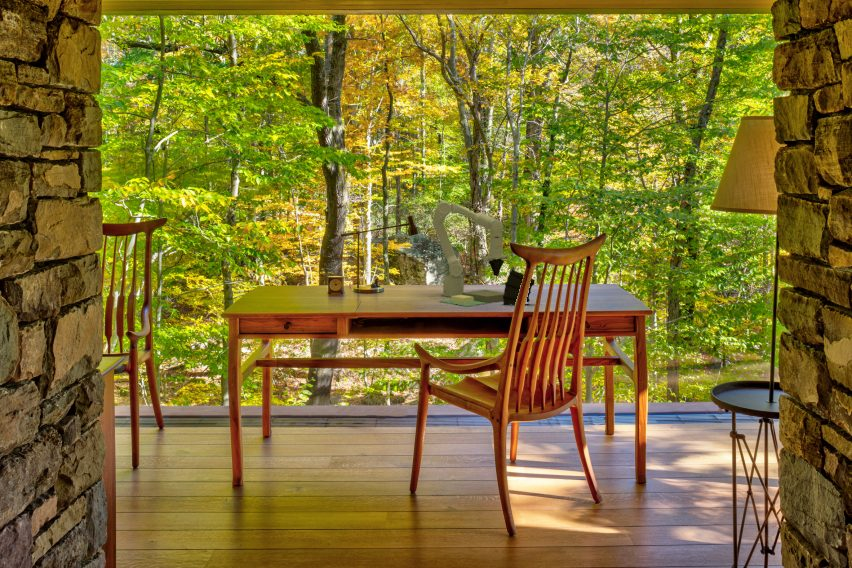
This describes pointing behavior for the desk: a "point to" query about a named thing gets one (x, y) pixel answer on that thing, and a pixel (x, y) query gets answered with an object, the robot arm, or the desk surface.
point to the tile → (462, 299)
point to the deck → (486, 296)
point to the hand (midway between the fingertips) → (496, 275)
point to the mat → (464, 304)
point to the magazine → (514, 287)
